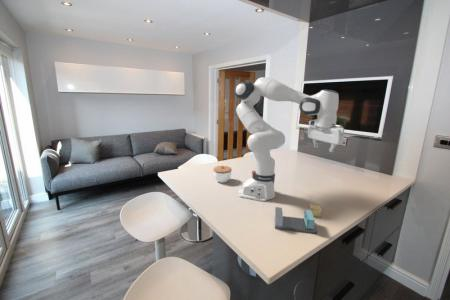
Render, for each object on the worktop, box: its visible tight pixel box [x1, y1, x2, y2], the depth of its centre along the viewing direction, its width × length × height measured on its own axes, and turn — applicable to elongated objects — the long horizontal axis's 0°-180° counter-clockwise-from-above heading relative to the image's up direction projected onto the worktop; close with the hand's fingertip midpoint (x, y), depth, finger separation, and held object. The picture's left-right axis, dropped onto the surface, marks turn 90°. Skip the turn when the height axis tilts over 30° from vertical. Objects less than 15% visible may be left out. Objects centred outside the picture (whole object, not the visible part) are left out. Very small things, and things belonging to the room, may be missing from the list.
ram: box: [303, 209, 316, 229], centre depth 100 cm, size 3×8×4 cm, turn 169°
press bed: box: [274, 206, 318, 235], centre depth 101 cm, size 18×9×6 cm, turn 79°
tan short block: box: [308, 204, 322, 218], centre depth 111 cm, size 5×4×4 cm
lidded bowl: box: [213, 165, 233, 184], centre depth 152 cm, size 13×13×11 cm
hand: (323, 149), depth 113 cm, fingers open, 8 cm apart
